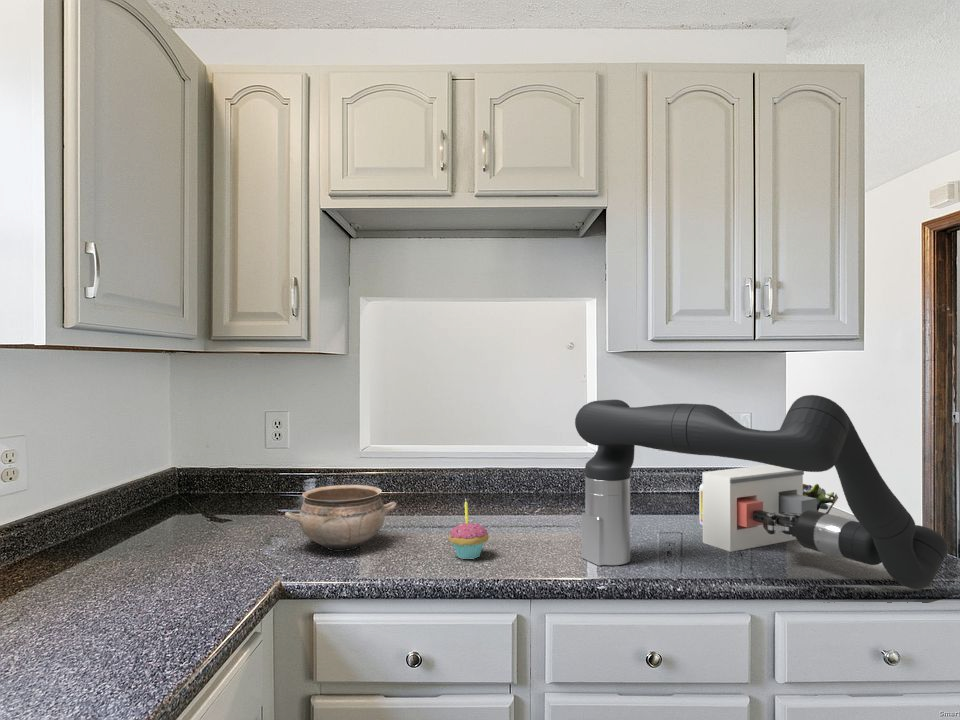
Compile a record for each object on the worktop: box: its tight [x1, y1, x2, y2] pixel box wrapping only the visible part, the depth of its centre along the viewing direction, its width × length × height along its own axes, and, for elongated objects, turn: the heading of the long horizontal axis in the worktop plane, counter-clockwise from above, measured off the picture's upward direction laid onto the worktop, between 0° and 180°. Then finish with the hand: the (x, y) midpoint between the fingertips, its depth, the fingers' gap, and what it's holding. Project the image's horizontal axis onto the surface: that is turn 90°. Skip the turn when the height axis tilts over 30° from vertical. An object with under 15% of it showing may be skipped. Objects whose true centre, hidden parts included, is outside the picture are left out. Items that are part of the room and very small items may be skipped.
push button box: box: [701, 464, 805, 553], centre depth 151 cm, size 23×8×16 cm, turn 116°
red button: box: [737, 497, 763, 527], centre depth 146 cm, size 5×6×5 cm
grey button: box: [779, 494, 817, 514], centre depth 148 cm, size 5×6×5 cm
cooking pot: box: [284, 484, 397, 551], centre depth 149 cm, size 25×19×12 cm
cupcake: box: [448, 498, 490, 559], centre depth 141 cm, size 9×8×12 cm
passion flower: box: [803, 483, 839, 514], centre depth 163 cm, size 13×12×14 cm
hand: (755, 515), depth 143 cm, fingers closed
